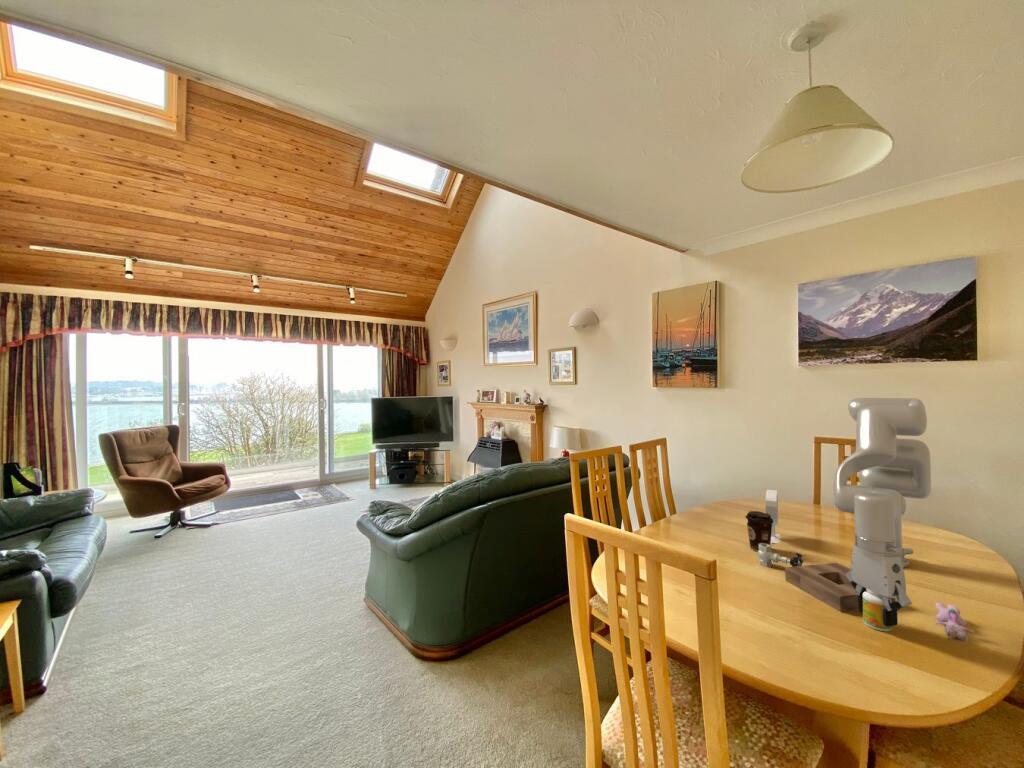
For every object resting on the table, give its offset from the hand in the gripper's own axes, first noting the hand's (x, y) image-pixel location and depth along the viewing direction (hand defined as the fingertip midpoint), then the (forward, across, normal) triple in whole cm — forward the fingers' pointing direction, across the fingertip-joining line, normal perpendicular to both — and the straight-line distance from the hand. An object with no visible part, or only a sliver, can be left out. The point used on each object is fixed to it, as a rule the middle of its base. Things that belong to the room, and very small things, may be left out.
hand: (877, 617), depth 102 cm
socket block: (+2, +16, -6) cm, 17 cm away
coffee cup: (+2, +48, -7) cm, 49 cm away
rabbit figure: (+2, -4, -16) cm, 17 cm away
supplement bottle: (+2, 0, 0) cm, 2 cm away
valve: (+2, +33, -2) cm, 33 cm away
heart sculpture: (+2, +57, -20) cm, 60 cm away
